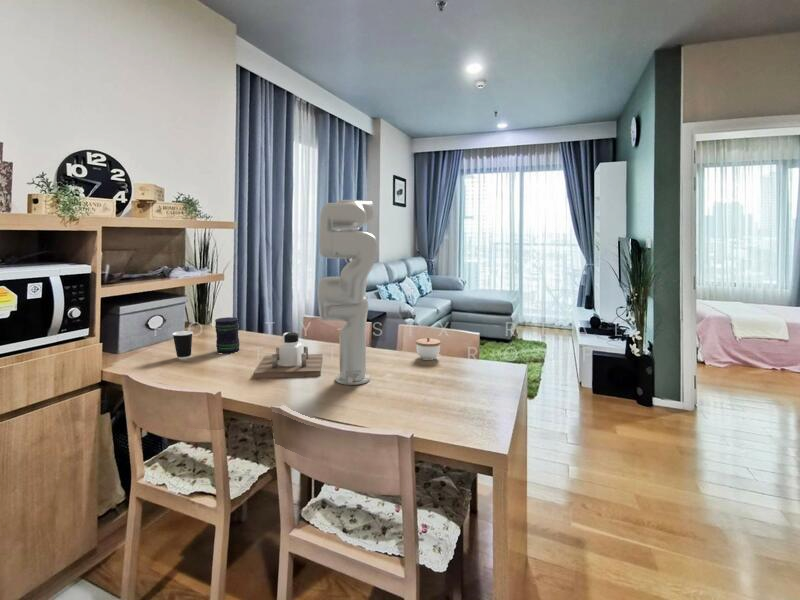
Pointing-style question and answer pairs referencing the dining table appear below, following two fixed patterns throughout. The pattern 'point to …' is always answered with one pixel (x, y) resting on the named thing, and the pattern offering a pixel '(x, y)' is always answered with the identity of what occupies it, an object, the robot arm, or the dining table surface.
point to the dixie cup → (183, 343)
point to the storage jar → (227, 335)
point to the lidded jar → (428, 348)
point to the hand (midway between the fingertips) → (350, 276)
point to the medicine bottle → (290, 349)
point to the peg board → (289, 366)
